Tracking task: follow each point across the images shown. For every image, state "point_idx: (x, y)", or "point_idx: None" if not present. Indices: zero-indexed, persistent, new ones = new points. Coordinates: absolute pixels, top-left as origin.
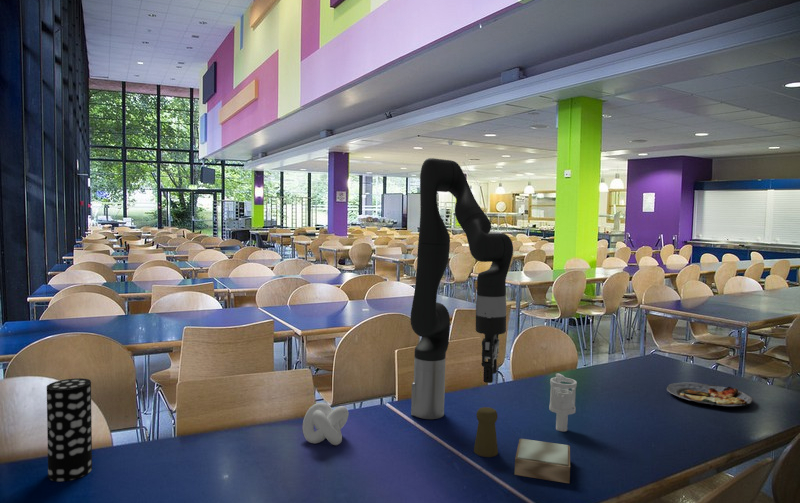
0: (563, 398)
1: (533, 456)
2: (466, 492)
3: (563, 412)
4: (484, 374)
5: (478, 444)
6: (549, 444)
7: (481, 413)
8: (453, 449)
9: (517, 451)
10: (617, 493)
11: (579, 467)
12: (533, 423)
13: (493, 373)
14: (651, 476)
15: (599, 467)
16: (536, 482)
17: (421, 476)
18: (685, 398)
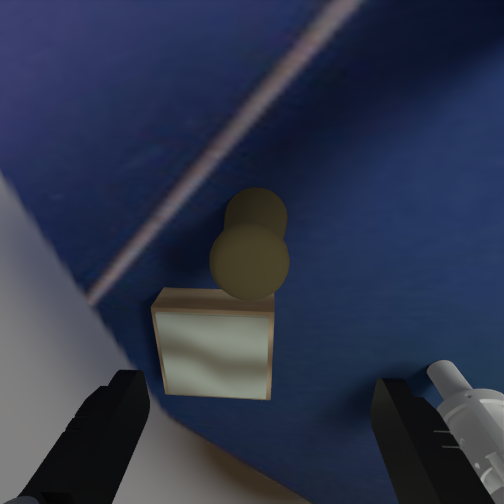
0: (469, 458)
1: (174, 342)
2: (37, 204)
3: None
4: (90, 422)
5: (229, 209)
6: (255, 370)
7: (215, 251)
8: (239, 127)
9: (193, 310)
10: (176, 419)
11: None
12: (478, 316)
13: (372, 404)
14: (254, 460)
15: (259, 410)
16: None
17: (37, 74)
18: None
